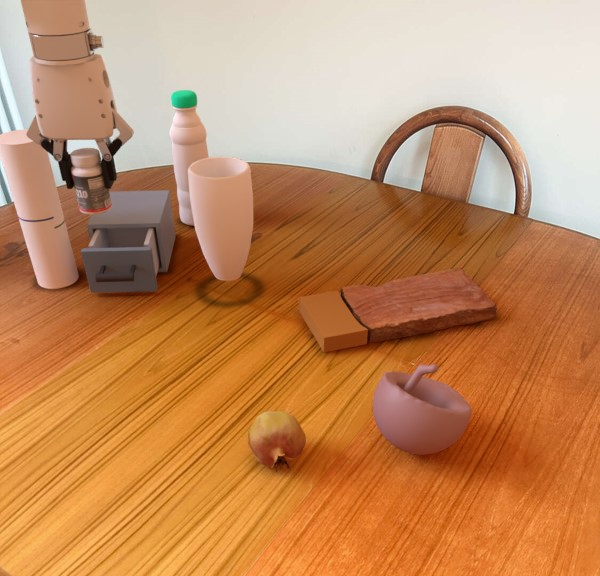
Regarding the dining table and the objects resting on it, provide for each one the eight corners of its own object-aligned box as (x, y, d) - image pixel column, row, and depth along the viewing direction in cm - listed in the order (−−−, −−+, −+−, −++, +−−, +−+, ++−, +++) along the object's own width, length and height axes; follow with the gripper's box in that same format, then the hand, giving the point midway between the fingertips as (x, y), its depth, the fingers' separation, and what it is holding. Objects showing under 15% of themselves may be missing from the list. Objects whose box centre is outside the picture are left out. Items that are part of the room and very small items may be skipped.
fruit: (236, 400, 82) (245, 454, 75) (289, 383, 82) (303, 435, 75) (253, 438, 87) (263, 492, 79) (302, 422, 87) (317, 475, 79)
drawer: (153, 304, 110) (146, 262, 105) (85, 306, 109) (74, 264, 104) (166, 254, 123) (160, 215, 118) (105, 256, 123) (97, 216, 118)
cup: (257, 304, 111) (250, 179, 97) (196, 305, 111) (180, 180, 97) (260, 274, 119) (254, 154, 105) (203, 275, 119) (189, 155, 105)
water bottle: (220, 216, 138) (209, 89, 122) (203, 229, 133) (189, 99, 118) (192, 210, 141) (177, 85, 125) (173, 223, 136) (156, 95, 120)
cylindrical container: (31, 277, 119) (-12, 136, 103) (68, 265, 122) (32, 126, 106) (47, 293, 114) (5, 147, 98) (85, 279, 118) (50, 137, 102)
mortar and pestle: (481, 441, 85) (498, 371, 77) (425, 490, 78) (437, 418, 71) (408, 399, 91) (417, 330, 84) (350, 440, 85) (355, 370, 78)
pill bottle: (74, 208, 98) (61, 151, 92) (102, 199, 100) (91, 144, 95) (88, 218, 95) (76, 160, 90) (118, 209, 98) (107, 153, 92)
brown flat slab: (298, 311, 109) (297, 293, 107) (458, 282, 116) (461, 266, 114) (324, 354, 100) (324, 336, 98) (497, 320, 107) (501, 303, 105)
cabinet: (167, 272, 120) (159, 223, 114) (97, 274, 120) (86, 224, 113) (175, 236, 131) (169, 190, 125) (112, 238, 131) (102, 191, 125)
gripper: (134, 39, 87) (153, 175, 98) (5, 39, 86) (39, 176, 98) (123, 52, 81) (145, 195, 93) (-15, 53, 81) (24, 196, 92)
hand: (90, 184), depth 95 cm, fingers closed on pill bottle, 4 cm apart
